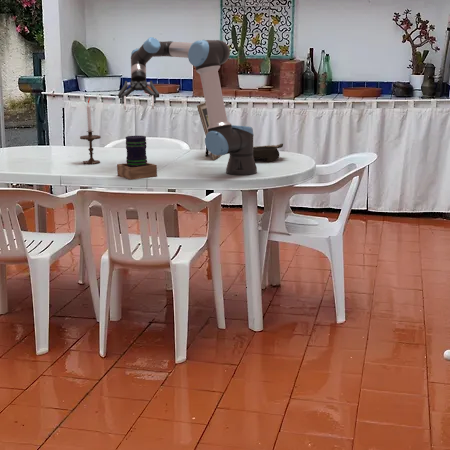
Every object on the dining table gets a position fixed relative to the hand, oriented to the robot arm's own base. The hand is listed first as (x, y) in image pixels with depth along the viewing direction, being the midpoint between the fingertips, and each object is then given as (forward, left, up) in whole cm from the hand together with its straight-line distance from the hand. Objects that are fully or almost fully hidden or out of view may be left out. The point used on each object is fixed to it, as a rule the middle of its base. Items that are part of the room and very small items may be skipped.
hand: (139, 107), depth 366 cm
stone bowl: (-7, -70, -32) cm, 77 cm away
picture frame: (+21, -57, -32) cm, 69 cm away
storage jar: (-10, +8, -28) cm, 31 cm away
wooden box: (-10, +8, -32) cm, 34 cm away
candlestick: (+41, +8, -32) cm, 53 cm away
